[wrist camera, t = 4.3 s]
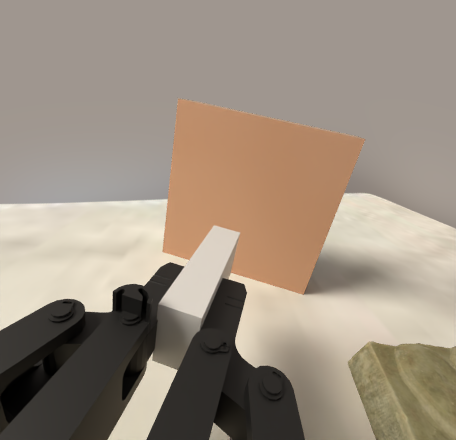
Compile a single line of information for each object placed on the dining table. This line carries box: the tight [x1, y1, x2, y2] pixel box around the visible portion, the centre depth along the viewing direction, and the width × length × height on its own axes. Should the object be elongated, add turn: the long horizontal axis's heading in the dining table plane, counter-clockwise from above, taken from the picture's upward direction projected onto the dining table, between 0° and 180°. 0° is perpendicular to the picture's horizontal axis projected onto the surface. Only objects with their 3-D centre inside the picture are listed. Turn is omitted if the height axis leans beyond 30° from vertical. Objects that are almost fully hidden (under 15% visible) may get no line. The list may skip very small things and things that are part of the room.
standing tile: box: [163, 99, 365, 295], centre depth 23 cm, size 14×3×14 cm, turn 77°
